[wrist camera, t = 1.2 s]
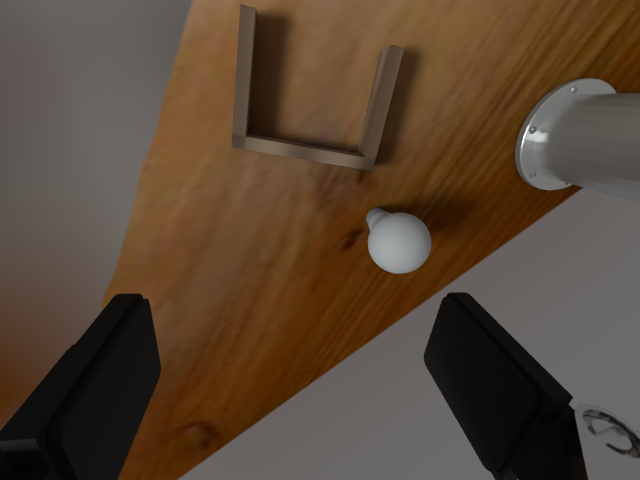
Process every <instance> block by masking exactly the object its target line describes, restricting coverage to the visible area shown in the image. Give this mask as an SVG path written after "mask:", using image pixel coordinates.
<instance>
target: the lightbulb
mask: <svg viewBox="0 0 640 480" xmlns="http://www.w3.org/2000/svg"><path fill="white" fill-rule="evenodd" d="M366 220H367V223H368V225H369V229H370V231H371V232H370V235H369V238H368V247H369V252H370V255H371V257H372V258H373V260H374V261H375V263H376V264H377V265H378V266H380V267H381V268H383V269H384V270H386V271H389V272H392V273H407V272H411V271H413V270H415V269H417V268H418V267H420V266H421V265H422V264H423V263H424V262H425V261H426V259H427V257H428V255H429V253H430V249H431V237H430V233H429V231H428V229H427V227H426V225H425V224H424V223H423V222H422V221H421V220H420V219H418V218H417V217H415V216H413V215H411V214H407V213H393V214H391V213H389V212H386V211H384V210H383V209H381V208H374V209H372V210H371V211H369V213H368V214H367V217H366Z"/></svg>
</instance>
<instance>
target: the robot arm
mask: <svg viewBox="0 0 640 480" xmlns="http://www.w3.org/2000/svg"><path fill="white" fill-rule="evenodd" d="M515 162H516V166H517V170H518V172H519V174H520V176H521V177H522V179H523V180H524V181H525V182H526V183H528V184H529V185H531V186H533V187H536V188H539V189H543V190H558V189H562V188H566V187H568V186H570V185H573V184H574V185H577V186H581V187H584V188H588V189H592V190H595V191H599V192H602V193H606V194H609V195H613V196H617V197H620V198H624V199H627V200H631V201H635V202H639V203H640V93H616V91H615V90H614V88H613V87H612V86H611V85H609V84H608V83H607V82H605V81H602V80H600V79H593V78H587V79H577V80H573V81H569V82H567V83H564V84H562V85H560V86H558V87H557V88H555V89H553V90H552V91H550V92H549V93H548V94H547V95H546V96H544V97H543V98H542V99H541V100H540V101H539V102H538V103H537V105H536V106H535V107H534V108H533V109H532V111H531V112H530V114H529V115H528V117H527V118H526V120H525V122H524V124H523V126H522V128H521V130H520V133H519V136H518V139H517V143H516V149H515ZM424 362H425V365H426V367H427V368H428V370H429V372H430V374H431V375H432V377H433V379H434V381H435V382H436V384H437V386H438V388H439V389H440V391H441V393H442V395H443V396H444V398H445V400H446V402H447V403H448V405H449V407H450V409H451V410H452V412H453V414H454V416H455V417H456V419H457V420H458V422H459V424H460V426H461V428H462V429H463V431H464V433H465V435H466V436H467V438H468V440H469V441H470V443H471V445H472V447H473V449H474V450H475V452H476V454H477V455H478V457H479V459H480V460H481V462H482V464H483V466H484V467H485V468H486V469H487V470H488V471H490V472H491V473H492V474H493V476H494V478H495V480H517V479H519V480H640V432H639V431H638V430H636V429H635V428H634V427H633V426H631V425H630V424H629V423H628V422H627V421H625V420H624V419H622V418H621V417H619V416H618V415H616V414H614V413H612V412H610V411H608V410H606V409H604V408H601V407H598V406H595V405H590V404H582V405H578V406H577V408H575V410H573V409H572V407H571V406H570V405H569V403H570V401H571V400H572V398H573V397H572V395H570V393H569V392H568V391H567V390H565V389H564V388H563V387H562V386H561V385H560V384H559V383H558V382H557V381H556V380H555V379H554V378H553V377H552V376H551V375H550V374H549V373H548V372H547V371H546V370H545V369H544V368H543V367H542V366H541V365H540V364H539V363H538V362H537V361H536V360H535V359H534V358H533V357H532V356H531V355H530V354H529V353H528V352H527V351H526V350H525V349H524V348H523V347H522V346H521V345H520V344H519V343H518V342H517V341H516V340H515V339H514V338H513V337H512V336H511V335H510V334H509V333H508V332H507V331H506V330H505V329H504V328H503V327H502V326H500V324H499V323H498V322H497V321H496V320H495V319H494V318H493V317H492V316H491V315H490V314H489V313H488V312H487V311H486V310H484V308H483V307H482V306H481V305H480V304H479V303H478V302H477V301H476V300H475V299H474V298H473V297H472V296H471V295H469V294H468V293H464V292H463V293H448V294H447V296H446V297H444V298H443V299H442V302H441V305H440V308H439V311H438V314H437V317H436V320H435V323H434V326H433V329H432V332H431V335H430V338H429V341H428V344H427V347H426V350H425V353H424ZM160 372H161V364H160V358H159V353H158V347H157V342H156V336H155V331H154V325H153V319H152V314H151V308H150V303H149V300H148V299H143V297H142V295H141V294H116V295H115V296H114V297H113V298H112V300H111V301H110V302H109V303H108V305H107V306H106V307H105V308H104V310H103V311H102V312H101V313H100V314H99V316H98V317H97V318H96V319H95V321H94V322H93V323H92V324H91V326H90V327H89V328H88V329H87V331H86V332H85V333H84V334H83V336H82V337H81V338H80V339H79V340H78V342H77V343H76V344H74V345H72V346H71V347H70V348H69V349H68V350H67V351H66V352H65V354H64V355H63V356H62V357H61V358H60V360H59V361H58V362H57V363H56V364H55V366H54V367H53V368H52V369H51V371H50V372H49V373H48V374H47V375H46V377H45V378H44V379H43V380H42V381H41V383H40V384H39V385H38V386H37V388H36V389H35V390H34V391H33V392H32V394H31V395H30V396H29V397H28V398H27V400H26V401H25V402H24V403H23V404H22V406H21V407H20V408H19V409H18V410H17V412H16V413H15V414H14V415H13V417H12V418H11V419H10V420H9V422H8V423H7V424H6V425H5V426H4V427H3V429H2V430H1V431H0V480H117V479H118V477H119V474H120V472H121V470H122V467H123V465H124V462H125V460H126V457H127V455H128V453H129V450H130V448H131V445H132V443H133V440H134V438H135V436H136V433H137V431H138V428H139V426H140V423H141V421H142V419H143V416H144V414H145V411H146V409H147V406H148V404H149V401H150V399H151V397H152V394H153V392H154V389H155V387H156V384H157V382H158V380H159V377H160Z"/></svg>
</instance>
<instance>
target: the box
mask: <svg viewBox="0 0 640 480" xmlns="http://www.w3.org/2000/svg"><path fill="white" fill-rule="evenodd" d="M256 29H257V12H256V8H254V7H250V6H246V5H243V4H241V5H240V21H239V37H238V53H237V69H236V85H235V101H234V117H233V133H232V147H233V148H239V149H245V150H251V151H257V152H263V153H269V154H274V155H280V156H286V157H292V158H298V159H304V160H310V161H316V162H322V163H328V164H334V165H340V166H346V167H352V168H358V169H364V170H370V171H373V167H374V164H375V160H376V156H377V152H378V148H379V144H380V140H381V136H382V133H383V129H384V125H385V121H386V117H387V113H388V109H389V106H390V102H391V98H392V94H393V90H394V86H395V82H396V79H397V75H398V71H399V67H400V63H401V59H402V55H403V52H404V48H402V47H399V46H395V45H391V46H388V47H386V48H384V49H382V50H381V52H380V57H379V61H378V65H377V69H376V74H375V78H374V82H373V87H372V91H371V95H370V100H369V104H368V108H367V113H366V117H365V121H364V126H363V130H362V134H361V138H360V143H359V147H358V151H357V153H355V152H349V151H344V150H338V149H333V148H327V147H321V146H316V145H310V144H305V143H299V142H294V141H288V140H282V139H277V138H271V137H266V136H260V135H254V134H249V133H248V126H249V114H250V102H251V90H252V77H253V65H254V53H255V41H256Z"/></svg>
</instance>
